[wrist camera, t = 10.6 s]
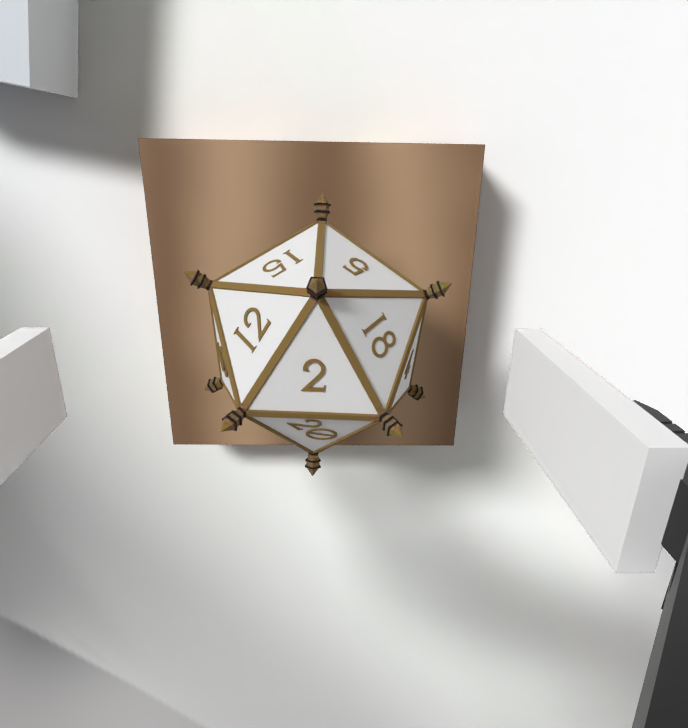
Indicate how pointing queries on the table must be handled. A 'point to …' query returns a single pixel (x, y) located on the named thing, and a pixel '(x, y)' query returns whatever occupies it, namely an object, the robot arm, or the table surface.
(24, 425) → the robot arm
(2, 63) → the card box
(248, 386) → the game die
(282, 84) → the table surface
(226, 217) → the plinth
